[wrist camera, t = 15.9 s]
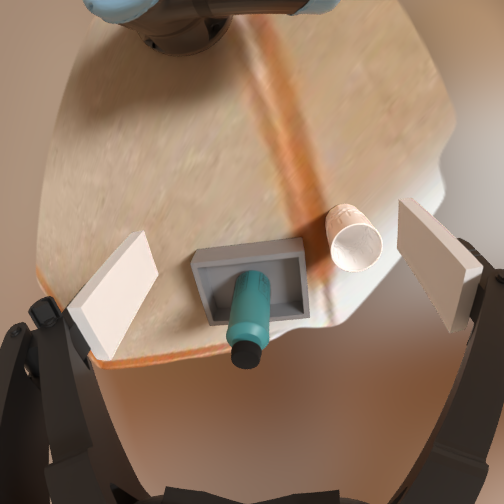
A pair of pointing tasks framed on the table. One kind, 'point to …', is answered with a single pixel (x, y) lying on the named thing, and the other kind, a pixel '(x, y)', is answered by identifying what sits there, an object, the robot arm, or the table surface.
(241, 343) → the beverage bottle
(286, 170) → the table surface
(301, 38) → the table surface
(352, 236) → the white cup
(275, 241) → the trough tray
